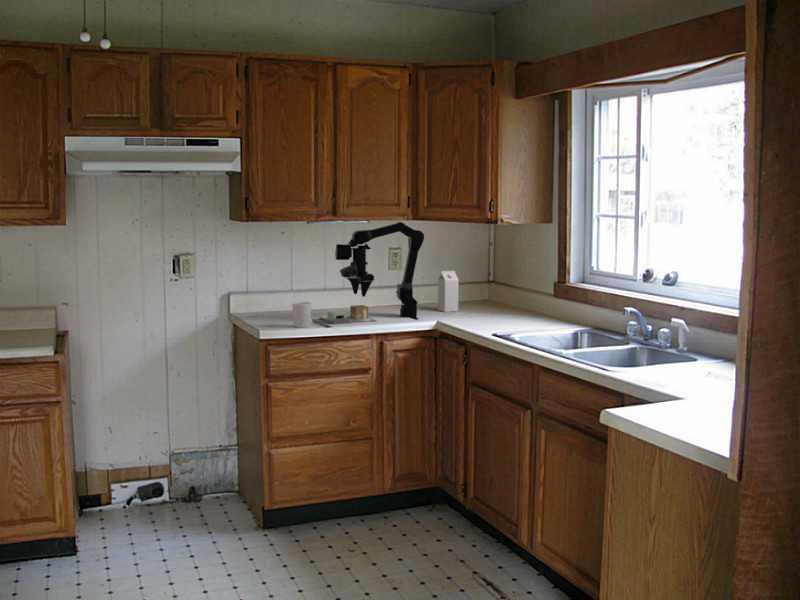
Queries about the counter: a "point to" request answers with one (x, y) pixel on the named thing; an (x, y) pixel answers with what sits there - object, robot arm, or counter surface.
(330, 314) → the housing
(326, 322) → the board
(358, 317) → the collar
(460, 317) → the counter surface
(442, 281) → the milk carton
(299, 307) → the white cup
